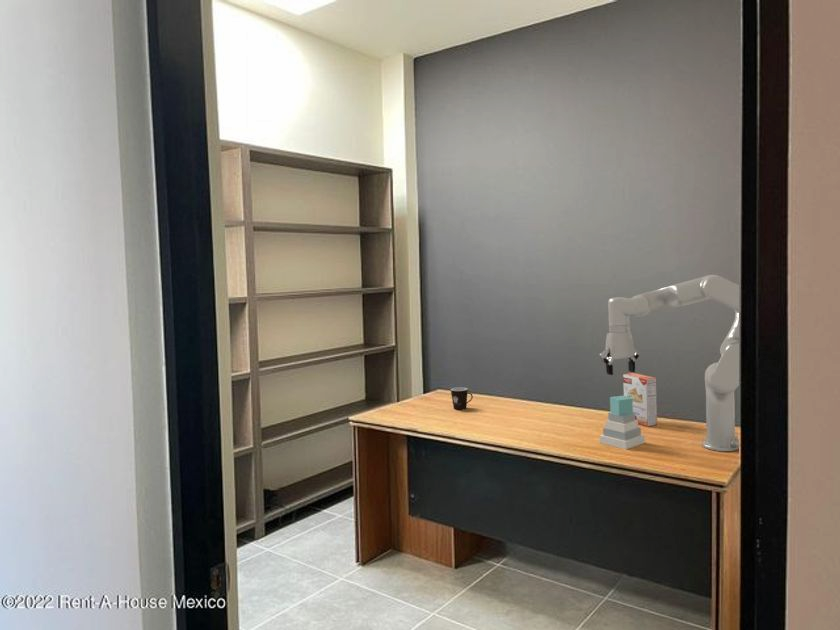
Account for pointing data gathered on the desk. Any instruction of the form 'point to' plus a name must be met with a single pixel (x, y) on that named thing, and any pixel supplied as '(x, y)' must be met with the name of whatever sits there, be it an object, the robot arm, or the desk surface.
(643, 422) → the cracker box
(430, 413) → the desk surface
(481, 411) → the desk surface
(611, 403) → the small aqua cube
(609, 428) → the tower
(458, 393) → the coffee mug
